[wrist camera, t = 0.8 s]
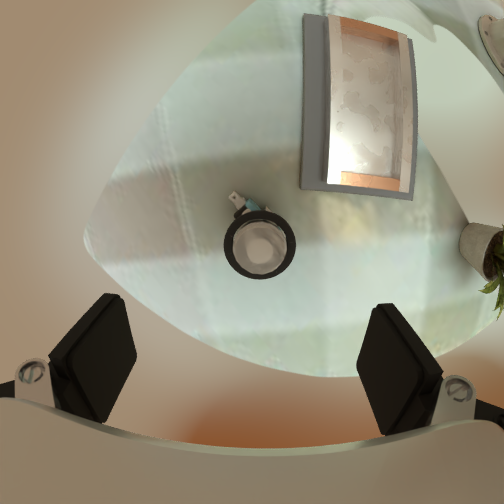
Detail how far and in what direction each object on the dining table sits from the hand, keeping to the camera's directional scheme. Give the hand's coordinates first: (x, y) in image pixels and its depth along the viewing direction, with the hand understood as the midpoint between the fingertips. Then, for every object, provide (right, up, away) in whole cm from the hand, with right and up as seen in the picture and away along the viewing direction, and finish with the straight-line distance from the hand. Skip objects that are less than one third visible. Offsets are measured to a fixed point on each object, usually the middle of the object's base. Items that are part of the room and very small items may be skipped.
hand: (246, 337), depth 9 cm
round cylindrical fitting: (+1, +7, +19) cm, 21 cm away
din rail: (+12, +18, +13) cm, 26 cm away
